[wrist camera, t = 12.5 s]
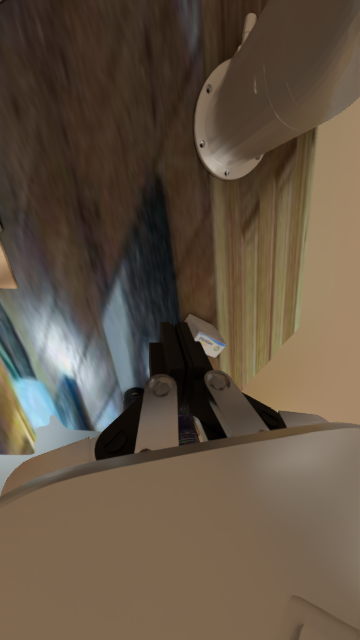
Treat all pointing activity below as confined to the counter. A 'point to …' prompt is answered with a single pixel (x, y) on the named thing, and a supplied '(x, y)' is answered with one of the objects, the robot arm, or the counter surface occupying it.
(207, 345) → the medicine box
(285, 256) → the counter surface
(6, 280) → the wooden cutting board
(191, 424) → the dark purple cylinder
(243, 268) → the counter surface
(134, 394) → the supplement bottle
